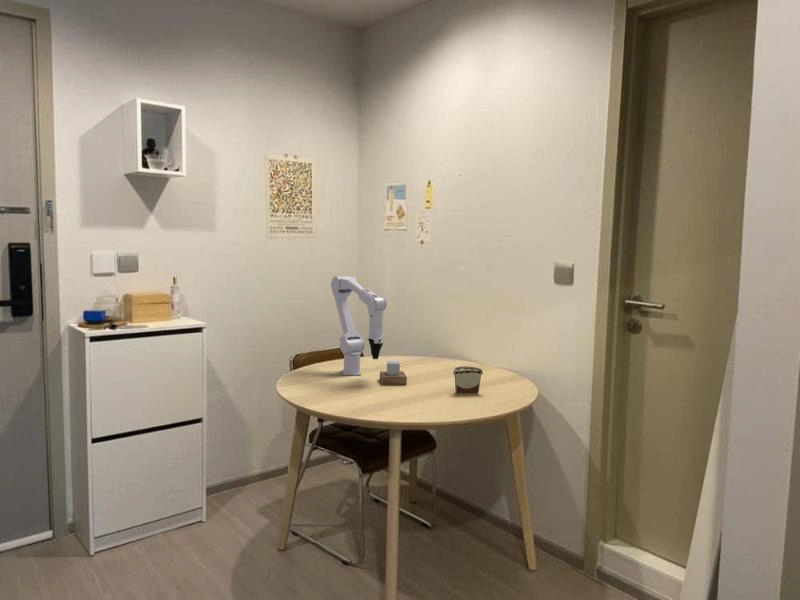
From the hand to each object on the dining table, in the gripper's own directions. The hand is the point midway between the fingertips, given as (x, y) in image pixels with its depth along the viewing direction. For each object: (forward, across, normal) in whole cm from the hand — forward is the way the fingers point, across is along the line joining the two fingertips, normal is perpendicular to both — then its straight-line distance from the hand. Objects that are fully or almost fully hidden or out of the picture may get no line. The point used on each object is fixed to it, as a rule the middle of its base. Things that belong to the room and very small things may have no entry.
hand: (374, 357), depth 254 cm
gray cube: (+7, -2, -8) cm, 10 cm away
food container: (+10, -17, -36) cm, 41 cm away
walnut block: (+11, -2, -8) cm, 14 cm away
